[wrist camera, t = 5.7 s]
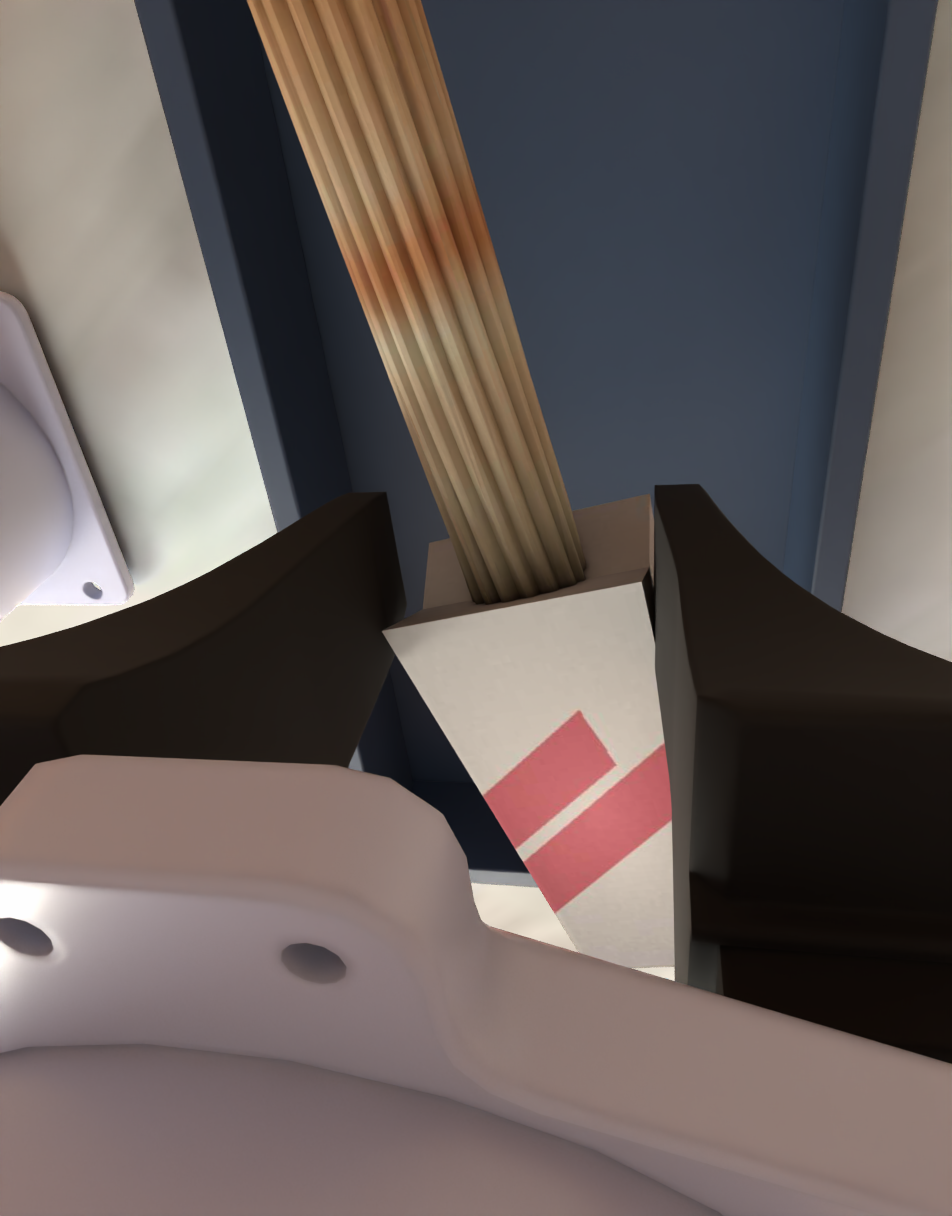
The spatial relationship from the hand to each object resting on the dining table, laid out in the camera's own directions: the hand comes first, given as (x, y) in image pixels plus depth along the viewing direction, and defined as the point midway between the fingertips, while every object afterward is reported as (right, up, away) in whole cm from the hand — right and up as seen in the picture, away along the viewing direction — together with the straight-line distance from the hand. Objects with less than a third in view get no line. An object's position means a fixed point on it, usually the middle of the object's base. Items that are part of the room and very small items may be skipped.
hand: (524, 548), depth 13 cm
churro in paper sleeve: (0, +1, +1) cm, 2 cm away
